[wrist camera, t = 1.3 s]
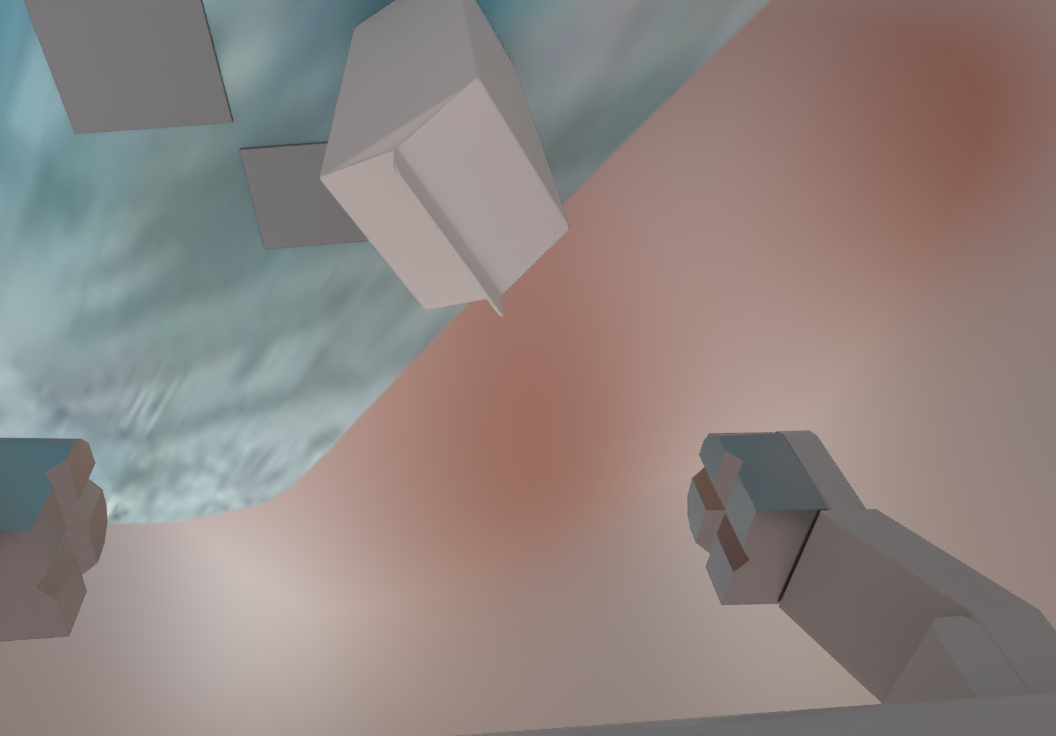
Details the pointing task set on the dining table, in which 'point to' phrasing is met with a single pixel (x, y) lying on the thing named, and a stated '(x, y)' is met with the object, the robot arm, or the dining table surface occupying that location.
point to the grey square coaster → (295, 197)
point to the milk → (441, 154)
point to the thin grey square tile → (131, 63)
